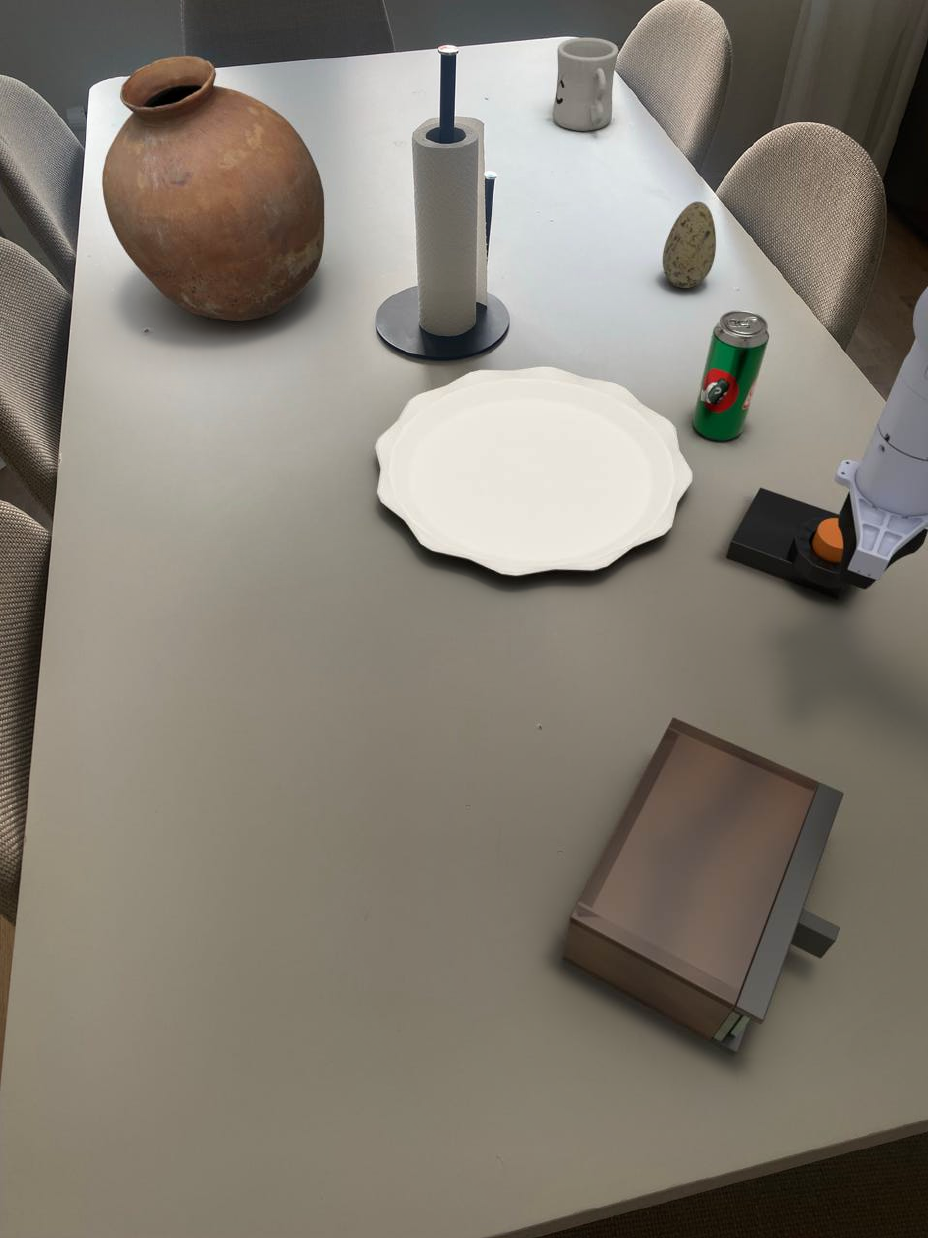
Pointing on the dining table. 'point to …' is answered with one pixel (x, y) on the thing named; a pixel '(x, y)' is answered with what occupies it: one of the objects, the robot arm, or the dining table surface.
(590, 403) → the plate
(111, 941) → the dining table surface
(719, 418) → the soda can
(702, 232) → the decorative egg
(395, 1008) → the dining table surface
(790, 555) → the control box
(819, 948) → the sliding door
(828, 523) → the button
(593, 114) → the mug
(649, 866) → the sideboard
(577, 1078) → the dining table surface
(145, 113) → the pottery
